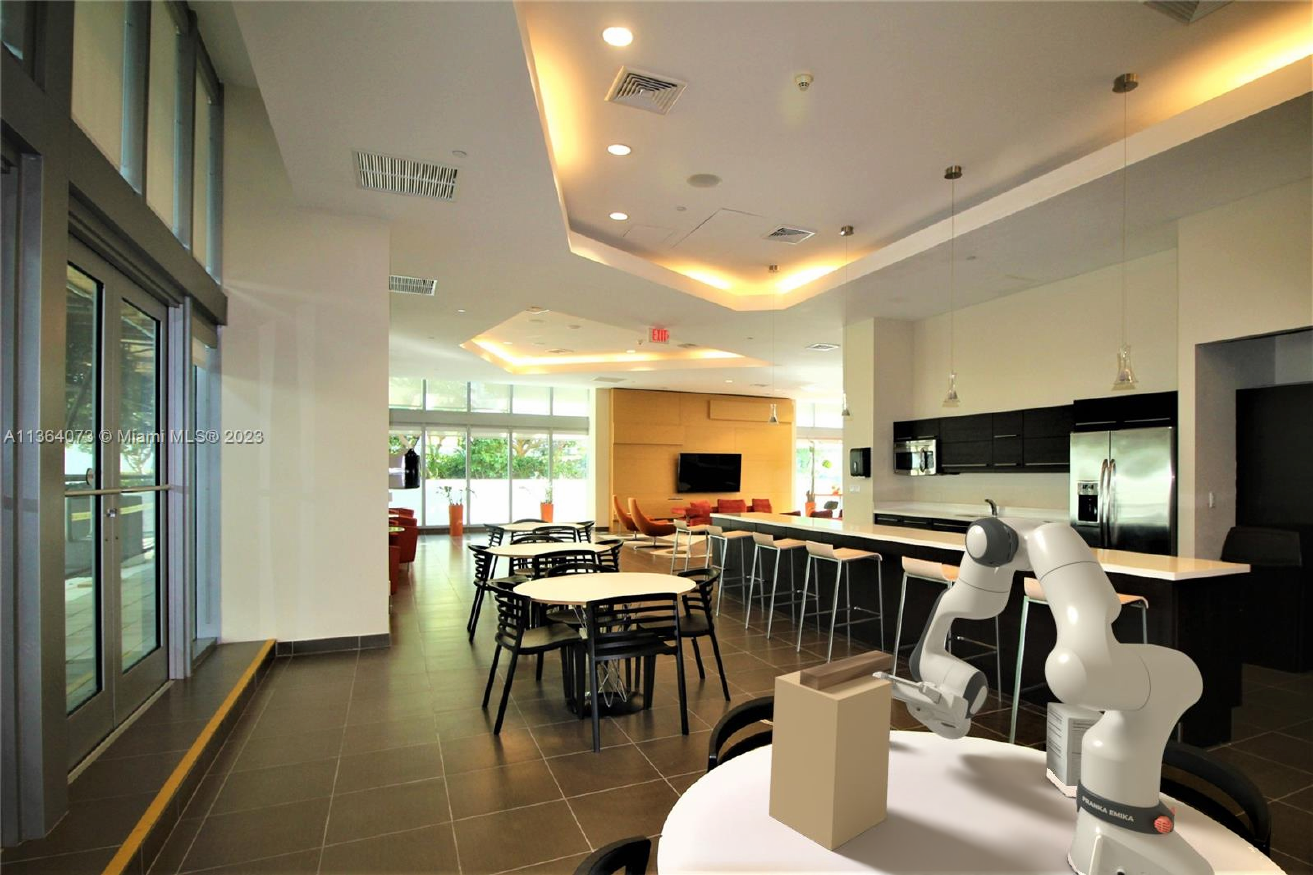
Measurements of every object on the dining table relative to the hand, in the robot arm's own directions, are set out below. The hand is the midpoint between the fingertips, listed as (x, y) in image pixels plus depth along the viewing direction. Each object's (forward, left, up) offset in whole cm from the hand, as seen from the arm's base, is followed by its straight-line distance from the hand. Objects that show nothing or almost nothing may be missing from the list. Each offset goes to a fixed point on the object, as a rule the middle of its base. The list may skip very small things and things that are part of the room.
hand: (901, 681), depth 143 cm
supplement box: (-25, -31, -21) cm, 45 cm away
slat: (0, +20, +5) cm, 21 cm away
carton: (0, +25, -21) cm, 33 cm away
